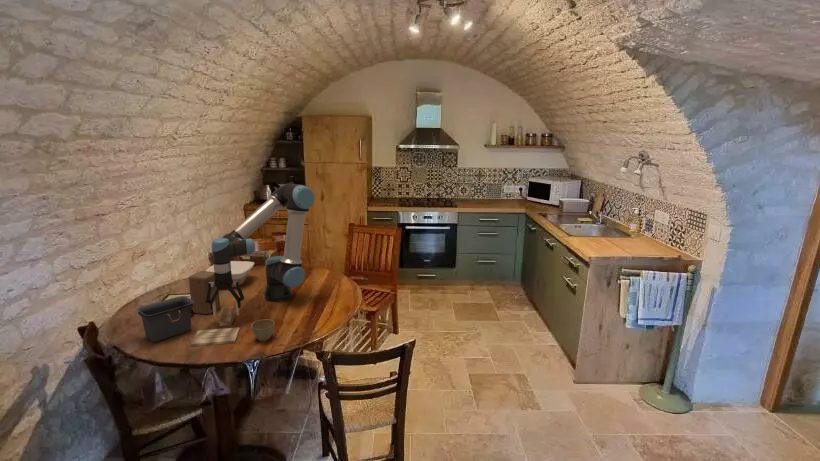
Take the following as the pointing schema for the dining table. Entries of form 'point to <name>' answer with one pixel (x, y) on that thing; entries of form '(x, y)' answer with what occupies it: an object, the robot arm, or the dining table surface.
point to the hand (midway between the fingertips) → (226, 314)
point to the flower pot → (263, 329)
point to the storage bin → (166, 317)
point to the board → (215, 336)
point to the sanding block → (226, 316)
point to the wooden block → (202, 291)
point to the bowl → (238, 270)
